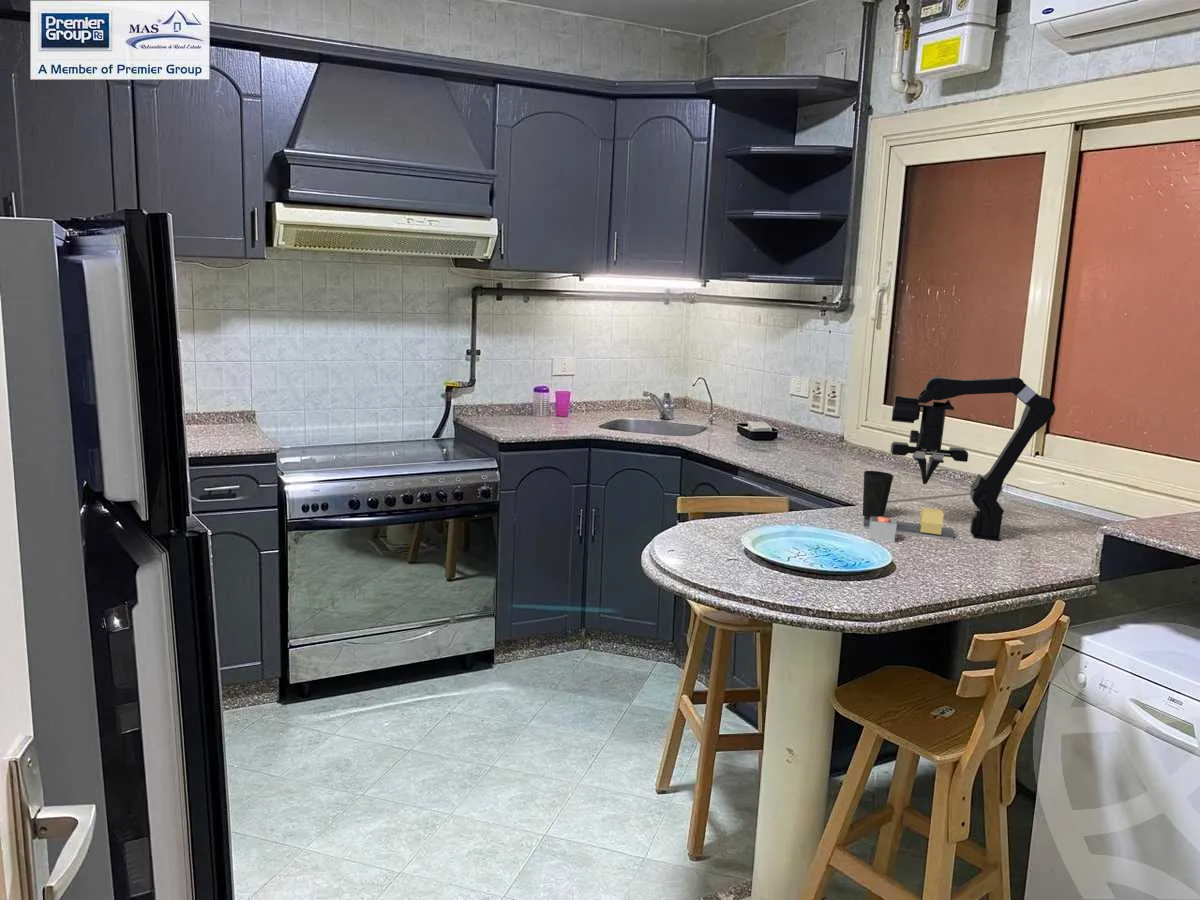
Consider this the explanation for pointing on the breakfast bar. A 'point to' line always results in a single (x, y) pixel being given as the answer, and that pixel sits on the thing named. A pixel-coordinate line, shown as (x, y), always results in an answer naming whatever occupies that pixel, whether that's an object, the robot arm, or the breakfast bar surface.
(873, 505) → the cup
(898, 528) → the rail
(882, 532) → the cabinet
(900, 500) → the breakfast bar surface
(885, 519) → the button
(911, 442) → the robot arm
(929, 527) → the carriage
